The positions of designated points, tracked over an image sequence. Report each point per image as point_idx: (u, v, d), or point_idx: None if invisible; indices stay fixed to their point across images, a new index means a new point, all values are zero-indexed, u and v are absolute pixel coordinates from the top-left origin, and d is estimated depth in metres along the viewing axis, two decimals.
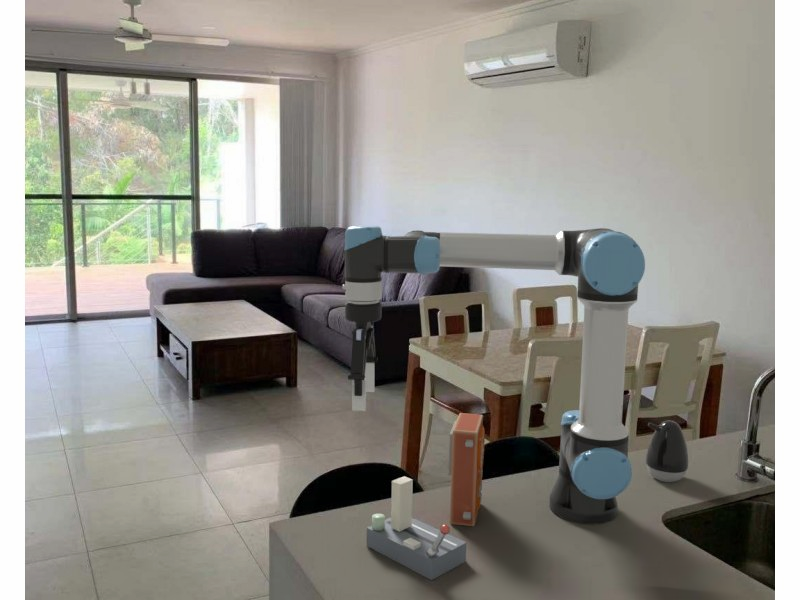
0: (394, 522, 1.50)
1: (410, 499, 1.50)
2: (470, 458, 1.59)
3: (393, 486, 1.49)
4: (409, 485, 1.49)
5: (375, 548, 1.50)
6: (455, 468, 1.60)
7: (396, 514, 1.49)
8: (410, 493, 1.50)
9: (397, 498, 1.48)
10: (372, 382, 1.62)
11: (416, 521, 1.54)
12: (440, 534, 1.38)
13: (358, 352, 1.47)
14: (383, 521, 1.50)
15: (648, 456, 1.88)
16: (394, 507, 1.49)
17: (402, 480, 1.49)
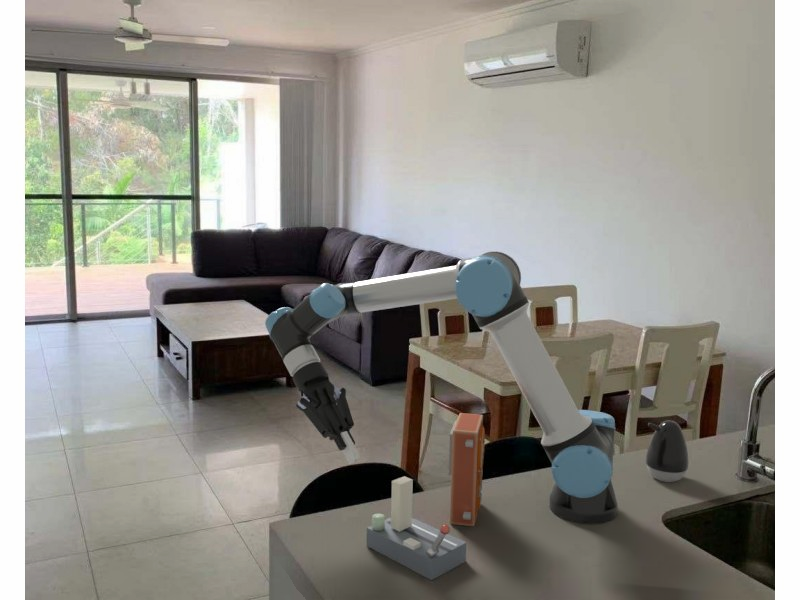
0: (394, 522, 1.50)
1: (410, 499, 1.50)
2: (470, 458, 1.59)
3: (393, 486, 1.49)
4: (409, 485, 1.49)
5: (375, 548, 1.50)
6: (455, 468, 1.60)
7: (396, 514, 1.49)
8: (410, 493, 1.50)
9: (397, 498, 1.48)
10: None
11: (416, 521, 1.54)
12: (440, 534, 1.38)
13: (312, 417, 1.60)
14: (383, 521, 1.50)
15: (648, 456, 1.88)
16: (394, 507, 1.49)
17: (402, 480, 1.49)
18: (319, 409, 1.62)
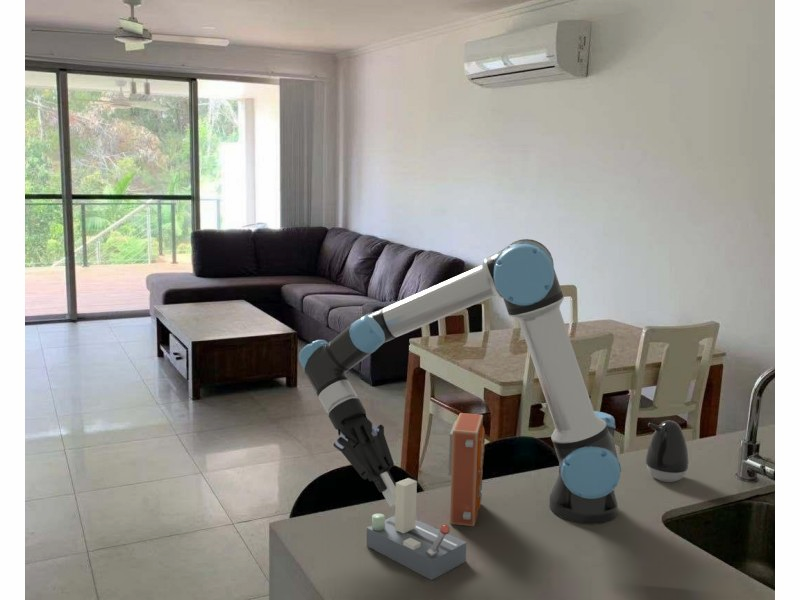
0: (398, 524, 1.49)
1: (414, 501, 1.49)
2: (470, 458, 1.59)
3: (397, 488, 1.48)
4: (413, 487, 1.49)
5: (375, 548, 1.50)
6: (455, 468, 1.60)
7: (400, 516, 1.48)
8: (414, 495, 1.49)
9: (401, 500, 1.48)
10: None
11: (416, 521, 1.54)
12: (440, 534, 1.38)
13: (351, 457, 1.52)
14: (383, 521, 1.50)
15: (648, 456, 1.88)
16: (398, 509, 1.48)
17: (406, 482, 1.48)
18: (357, 448, 1.55)
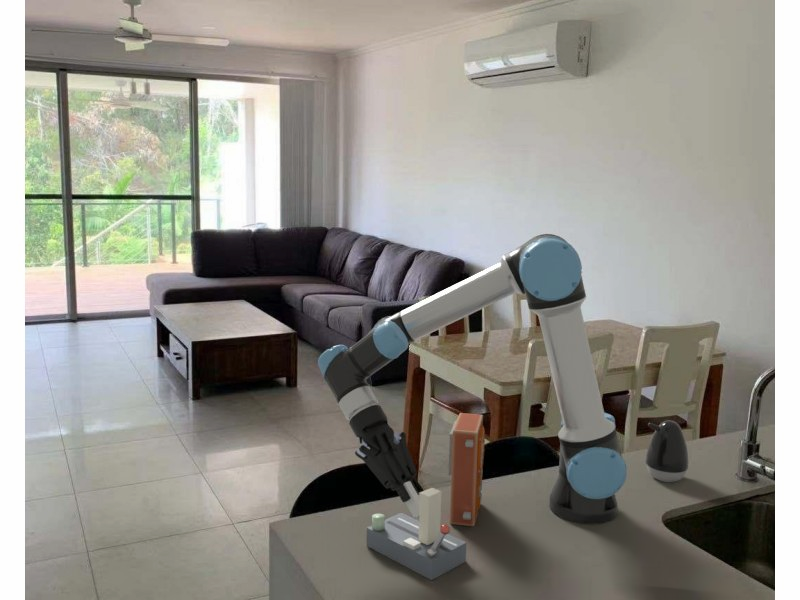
0: (422, 535, 1.44)
1: (438, 511, 1.45)
2: (470, 458, 1.59)
3: (421, 498, 1.44)
4: (437, 497, 1.44)
5: (375, 548, 1.50)
6: (455, 468, 1.60)
7: (424, 527, 1.44)
8: (438, 505, 1.45)
9: (426, 511, 1.43)
10: None
11: (416, 521, 1.54)
12: (440, 534, 1.38)
13: (373, 466, 1.48)
14: (383, 521, 1.50)
15: (648, 456, 1.88)
16: (422, 520, 1.44)
17: (430, 492, 1.44)
18: (379, 457, 1.51)
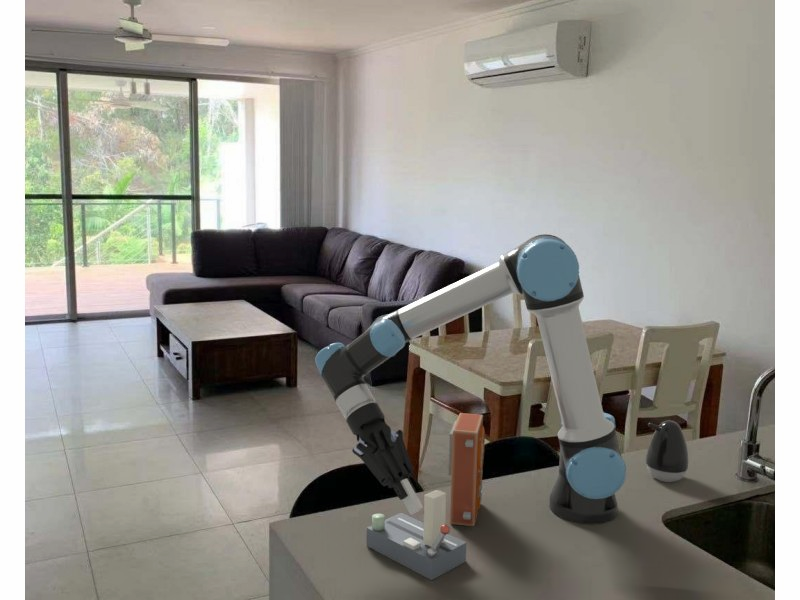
0: (427, 537, 1.44)
1: (443, 513, 1.44)
2: (470, 458, 1.59)
3: (426, 500, 1.43)
4: (442, 499, 1.43)
5: (375, 548, 1.50)
6: (455, 468, 1.60)
7: (429, 530, 1.43)
8: (443, 507, 1.44)
9: (430, 513, 1.42)
10: None
11: (416, 521, 1.54)
12: (440, 534, 1.38)
13: (370, 463, 1.48)
14: (383, 521, 1.50)
15: (648, 456, 1.88)
16: (427, 522, 1.43)
17: (435, 494, 1.43)
18: (376, 454, 1.51)
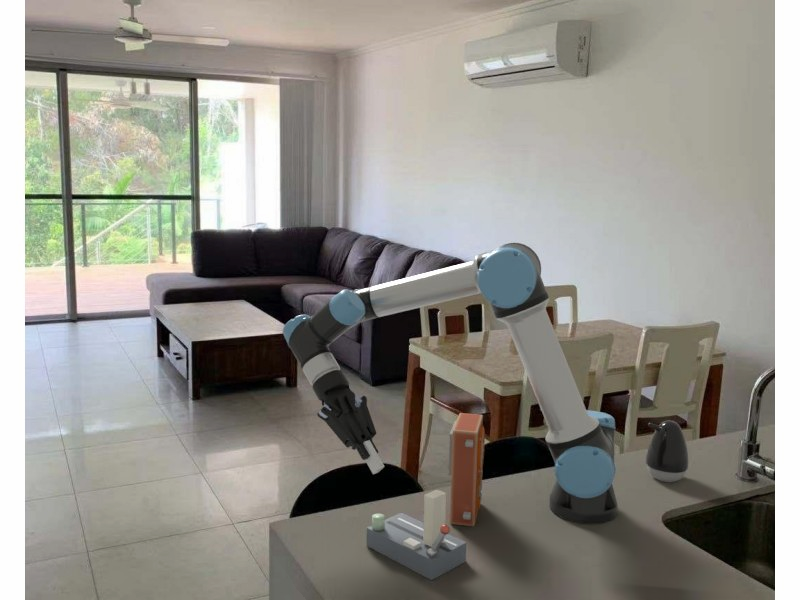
0: (427, 537, 1.44)
1: (443, 513, 1.44)
2: (470, 458, 1.59)
3: (426, 500, 1.43)
4: (442, 499, 1.43)
5: (375, 548, 1.50)
6: (455, 468, 1.60)
7: (429, 530, 1.43)
8: (443, 507, 1.44)
9: (430, 513, 1.42)
10: None
11: (416, 521, 1.54)
12: (440, 534, 1.38)
13: (334, 426, 1.56)
14: (383, 521, 1.50)
15: (648, 456, 1.88)
16: (427, 522, 1.43)
17: (435, 494, 1.43)
18: (341, 418, 1.59)
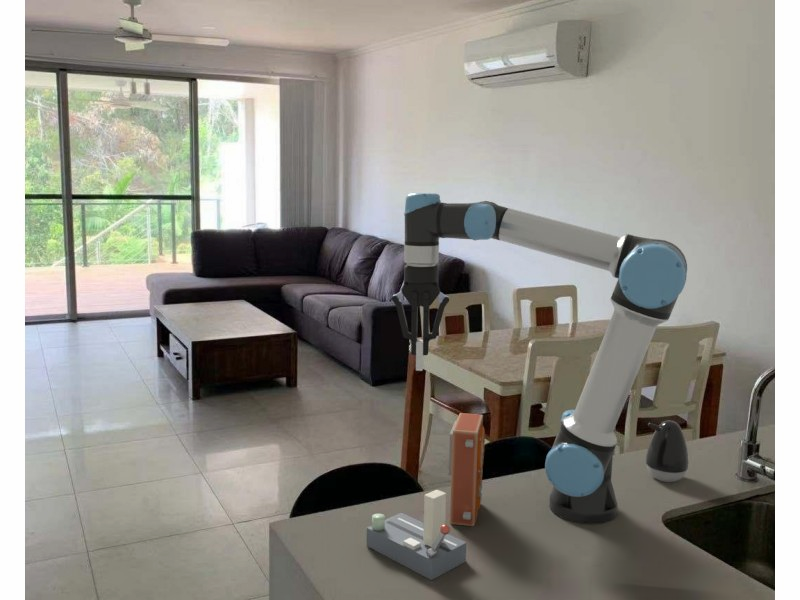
0: (427, 537, 1.44)
1: (443, 513, 1.44)
2: (470, 458, 1.59)
3: (426, 500, 1.43)
4: (442, 499, 1.43)
5: (375, 548, 1.50)
6: (455, 468, 1.60)
7: (429, 530, 1.43)
8: (443, 507, 1.44)
9: (430, 513, 1.42)
10: None
11: (416, 521, 1.54)
12: (440, 534, 1.38)
13: None
14: (383, 521, 1.50)
15: (648, 456, 1.88)
16: (427, 522, 1.43)
17: (435, 494, 1.43)
18: None
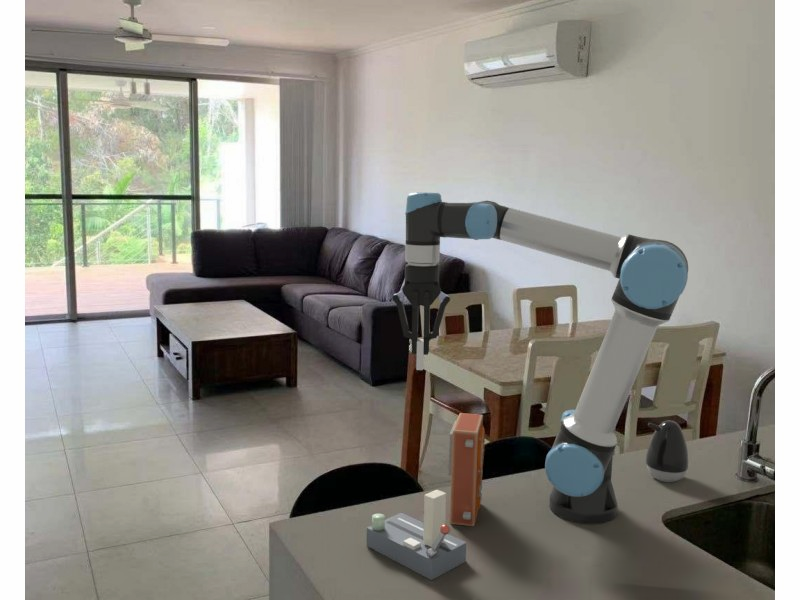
0: (427, 537, 1.44)
1: (443, 513, 1.44)
2: (470, 458, 1.59)
3: (426, 500, 1.43)
4: (442, 499, 1.43)
5: (375, 548, 1.50)
6: (455, 468, 1.60)
7: (429, 530, 1.43)
8: (443, 507, 1.44)
9: (430, 513, 1.42)
10: None
11: (416, 521, 1.54)
12: (440, 534, 1.38)
13: None
14: (383, 521, 1.50)
15: (648, 456, 1.88)
16: (427, 522, 1.43)
17: (435, 494, 1.43)
18: None
